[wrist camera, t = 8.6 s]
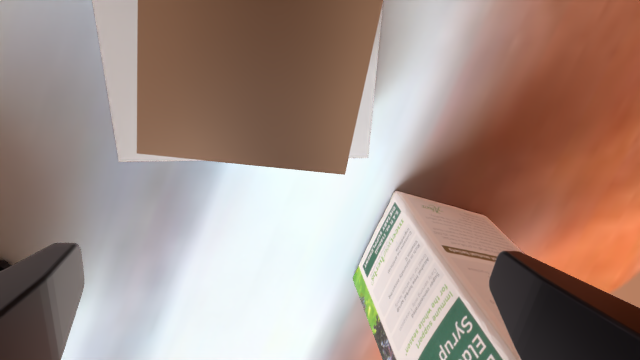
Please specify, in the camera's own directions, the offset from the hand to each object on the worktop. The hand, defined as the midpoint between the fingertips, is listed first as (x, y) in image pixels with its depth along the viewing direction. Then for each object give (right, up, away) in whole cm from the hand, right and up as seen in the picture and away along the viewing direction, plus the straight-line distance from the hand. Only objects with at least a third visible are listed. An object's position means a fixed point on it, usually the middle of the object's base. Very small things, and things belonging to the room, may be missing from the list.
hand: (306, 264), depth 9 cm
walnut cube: (-2, +7, +5) cm, 8 cm away
